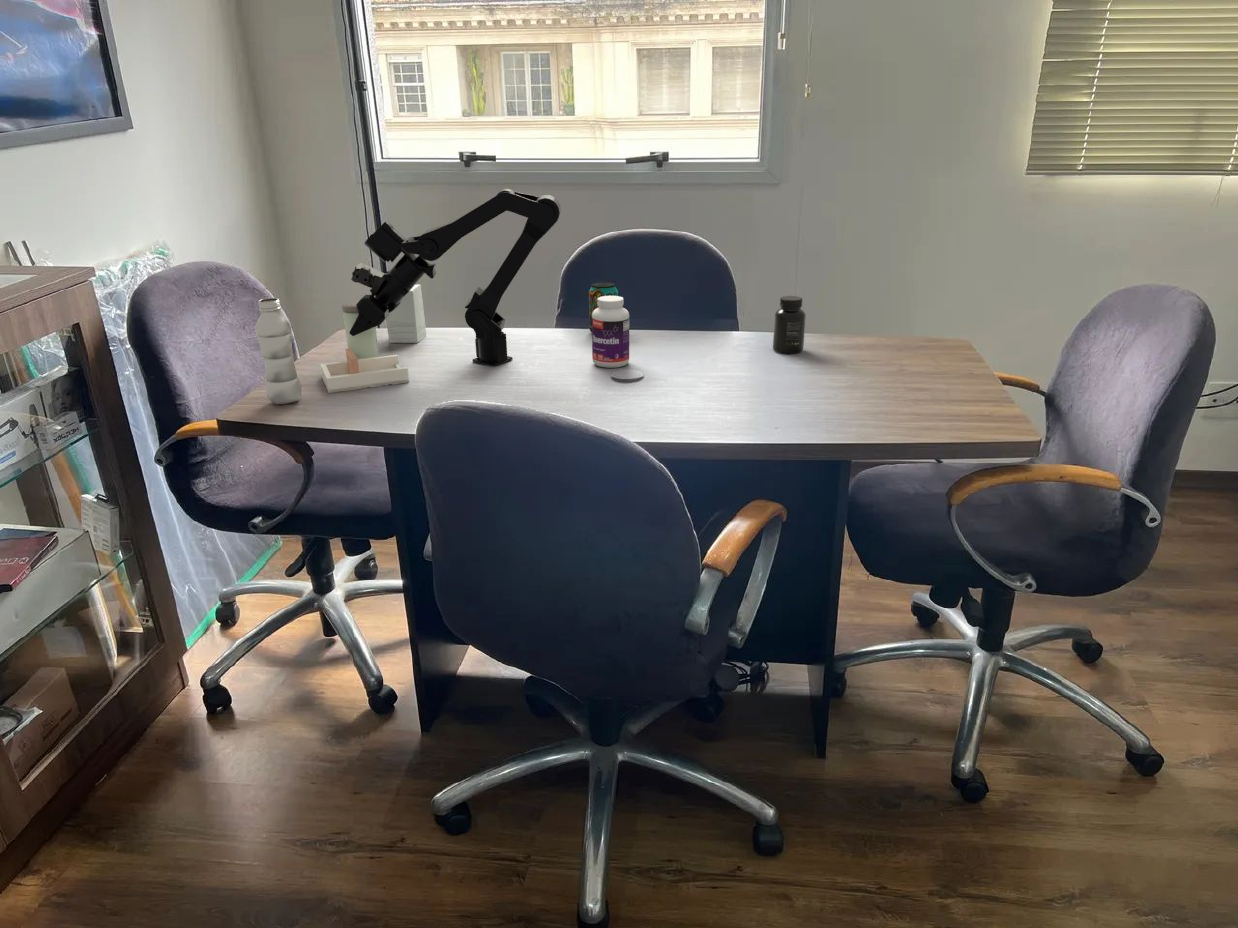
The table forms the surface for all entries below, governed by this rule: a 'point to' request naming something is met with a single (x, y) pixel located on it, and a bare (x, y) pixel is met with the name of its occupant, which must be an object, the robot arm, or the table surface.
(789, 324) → the supplement bottle
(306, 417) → the table surface
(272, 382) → the plastic bottle
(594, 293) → the beverage can
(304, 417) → the table surface
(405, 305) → the supplement box
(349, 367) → the pusher paddle
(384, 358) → the white rectangular tray
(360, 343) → the ceramic jar
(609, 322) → the pill bottle
